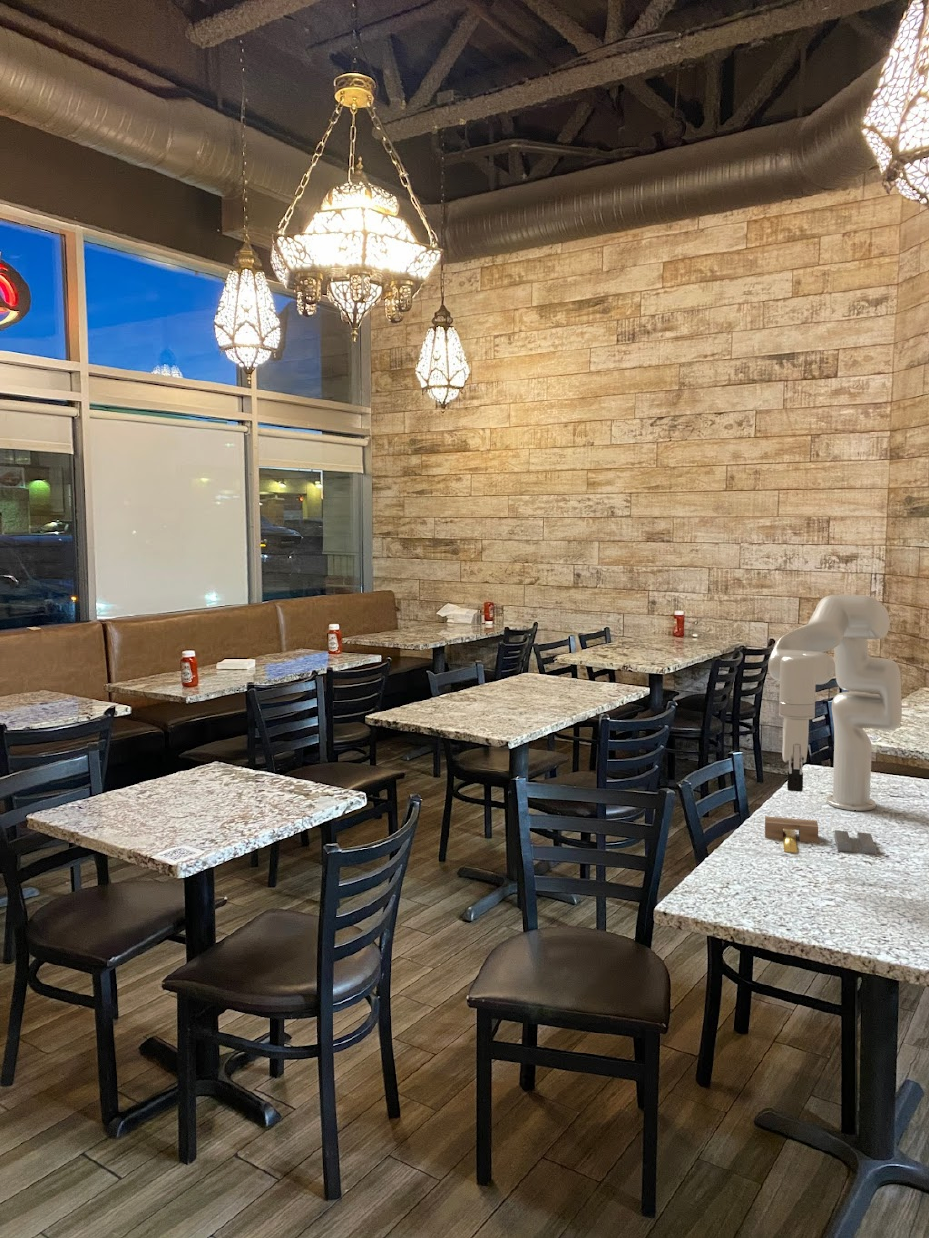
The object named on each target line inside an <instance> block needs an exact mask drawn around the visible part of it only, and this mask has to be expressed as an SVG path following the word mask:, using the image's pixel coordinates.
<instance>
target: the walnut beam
mask: <svg viewBox="0 0 929 1238" xmlns="http://www.w3.org/2000/svg"><path fill="white" fill-rule="evenodd" d="M784 829H792V830H794V831H798V840H799V841H800V842H807V843H819V822H818V820H813V819H812V820H811V819H801V818H792V817H791V818H789V817H778V816H766V815H765V816H764V838H766V839H776V840H783V830H784Z"/></svg>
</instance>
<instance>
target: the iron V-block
mask: <svg viewBox="0 0 929 1238" xmlns="http://www.w3.org/2000/svg"><path fill="white" fill-rule="evenodd" d="M833 835H834V836H833V838H834V842H835V845H836V850H837V852H841V853H842V852H843V853H852V854H863V855H873V856H874V855H875V856H876V854H877V853H876V851H877V849H876V844H875V842H874V839H873V837H872V834H871V833H869V832H861V831H859V832H858V831H857V835H856V837H850V835H849V832H848V831H846V830H836V829H834V833H833Z"/></svg>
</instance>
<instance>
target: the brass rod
mask: <svg viewBox="0 0 929 1238" xmlns="http://www.w3.org/2000/svg"><path fill="white" fill-rule="evenodd" d="M782 844H783V845H782V846H783V852H784V853H793V854H798V845H797V836H796V830H792V829H783V839H782Z"/></svg>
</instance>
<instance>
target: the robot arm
mask: <svg viewBox="0 0 929 1238" xmlns="http://www.w3.org/2000/svg"><path fill="white" fill-rule="evenodd" d="M890 627H891V619H890V615H889V612H888V610H887V609H886V607H885V606H884V605H883V604H882V603H881V602H880V601H879V600H878V599H877V598H875V597H873V596H870V595H863V594H862V595H861V594H830V595H826V596H824V597H822V598H821V599H820V600H819V601H818V603H817V606H816V607H815V609H814V610H813V612H812V615H811V617H810V618H809V621H808V623H807V624H804V625H801V626H800V627H797V628H795V629H793V630H792V631H789V632H787V633H785V634H784V635H782V636H781V637H780V638H779V639H778V641H777V642H776V643H775V645H774V647H773V648H772V649H773V650H772V651H771V652H770V656H769V658H768V663H767V669H768V672H769V676H771V678H772V679H774V680H775V681H778V682H779V695H778V696H779V697H778V698H779V699H778V700H779V703H778V707H779V708H778V717H781V718H783V723H782V747H781V748H782V749H781V751H782V752H781V753H782V761H783V762H784V763H787V761H788V771H787V782H786V783H787V784H786V785H787V786H786V787H787V788H786V789H787V791H789V792H798V793H802V792H803V791H804V790H803V789H804V788H803V787H804V772H803V764H805V763H806V762H807V759H808V758H807V755H808V747H809V731H810V730H809V729H810V728H809V726H810V724H809V723H810V721H809V720H814V719H815V717H816V715H815V713H816V686H817V685H824V684H825V685H826V684H827V683H829V681H831V680H832V678H833V677H834V676H835V681H836V684H837V686H838V688H840V689H842V690H844V691H843V692H840V693H837V694H835V696H834V697H833V699H832V701H831V713H832V720H833V733H834V734H833V735H834V738H833V742H834V743H833V750H834V751H833V770H832V771H833V775H832V778H833V779H832V795H828V796H827V797H826V803H827V804H828V805H830V806H831V807H834V808H837V809H841V810H847V811H854V810H856V811H859V812H863V811H864V812H865V811H870V810H874V809H875V808H877V803H876V801H875V800H873V799H871V780H872V779H871V777H872V776H871V775H872V773H871V772H872V771H871V770H872V748H873V747H872V746H873V745H872V742H871V738H870V737H869V735H868V734H867V733H866V732H865V730H864V729H872V730H882V731H893V730H896V729H898V728H899V727H900V726H901V724H902V723H901V722H902V718H903V717H902V715H903V712H902V711H903V710H902V708H903V707H902V680H901V679H902V678H901V677H902V676H901V670H900V666H899V665H898V663H897V662H896V661H894V660H893V659H891V658H884V657H883V658H882V657H872V656H870V655H869V642H868V641H869V640H881V639H884V638H885V637H886V636H887V635H888V633H889V630H890ZM830 650H831V651H832V650H833V657H832V655H830V654H828V653H826V652H828V651H830Z"/></svg>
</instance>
